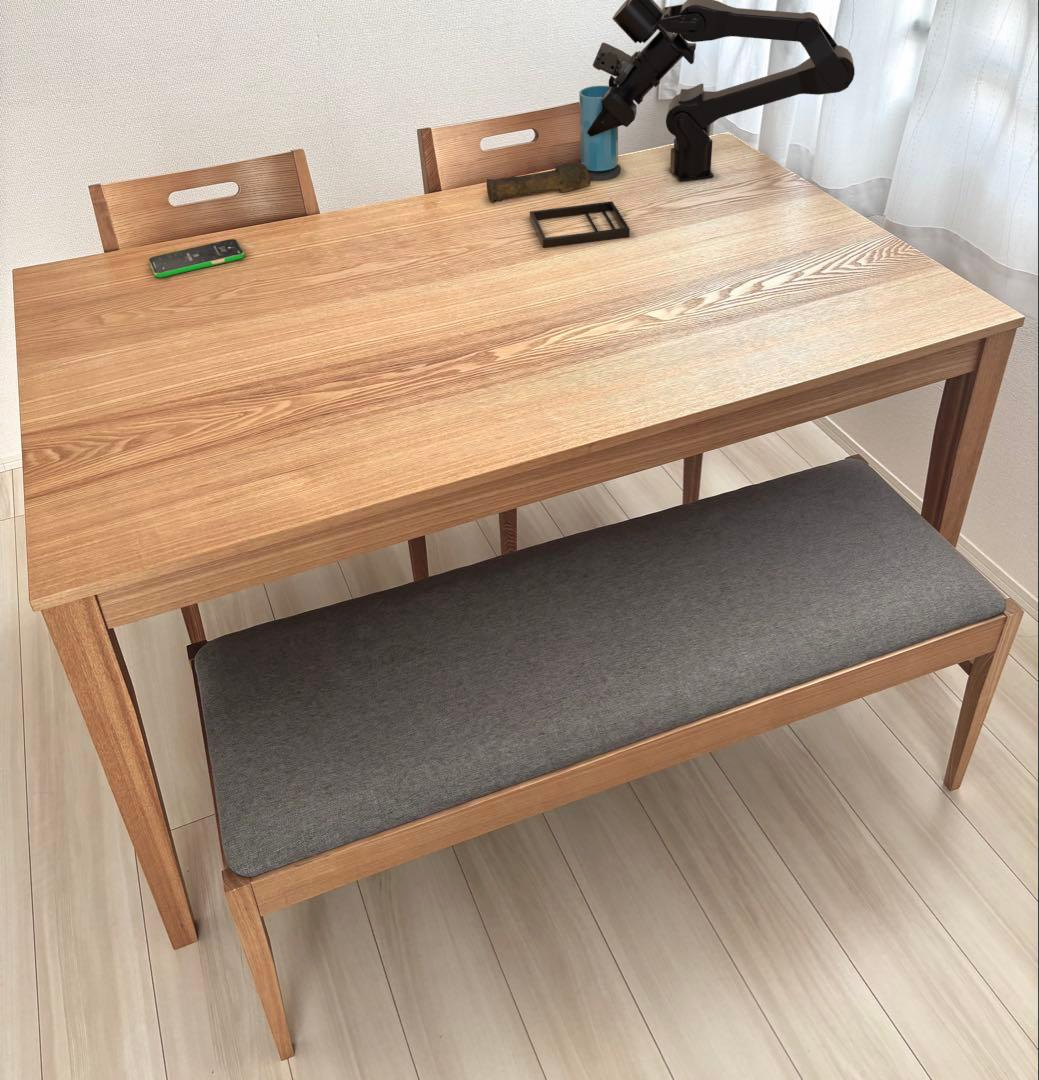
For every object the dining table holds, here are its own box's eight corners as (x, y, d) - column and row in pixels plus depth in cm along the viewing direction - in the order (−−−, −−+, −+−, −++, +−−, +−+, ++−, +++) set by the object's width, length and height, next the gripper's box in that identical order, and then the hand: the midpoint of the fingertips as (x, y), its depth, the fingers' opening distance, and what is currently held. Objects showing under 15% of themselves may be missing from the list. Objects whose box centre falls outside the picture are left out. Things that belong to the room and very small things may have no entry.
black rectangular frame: (612, 209, 183) (612, 201, 182) (629, 237, 174) (629, 228, 173) (530, 219, 181) (529, 211, 180) (543, 248, 172) (542, 239, 171)
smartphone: (147, 257, 176) (235, 236, 180) (148, 262, 176) (236, 242, 180) (154, 274, 170) (245, 253, 174) (156, 280, 171) (246, 258, 175)
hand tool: (490, 205, 187) (488, 180, 184) (486, 197, 190) (484, 171, 187) (593, 192, 189) (593, 167, 186) (588, 184, 192) (587, 159, 189)
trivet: (614, 162, 199) (614, 158, 199) (625, 177, 193) (625, 173, 193) (573, 167, 198) (573, 163, 198) (582, 183, 192) (582, 178, 192)
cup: (625, 162, 195) (625, 89, 186) (601, 174, 191) (600, 100, 183) (597, 154, 198) (596, 83, 190) (573, 166, 195) (571, 93, 186)
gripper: (626, 12, 186) (567, 78, 195) (614, 43, 172) (551, 112, 181) (670, 59, 189) (609, 121, 199) (661, 93, 176) (597, 158, 185)
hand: (591, 127), depth 191 cm, fingers closed on cup, 7 cm apart
